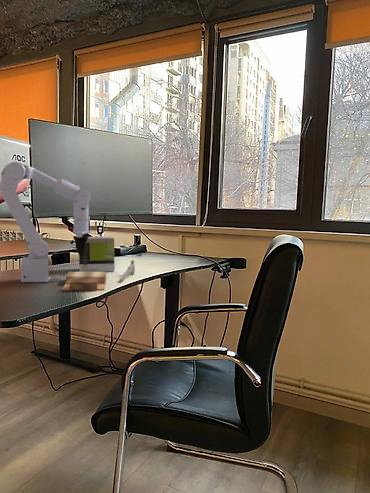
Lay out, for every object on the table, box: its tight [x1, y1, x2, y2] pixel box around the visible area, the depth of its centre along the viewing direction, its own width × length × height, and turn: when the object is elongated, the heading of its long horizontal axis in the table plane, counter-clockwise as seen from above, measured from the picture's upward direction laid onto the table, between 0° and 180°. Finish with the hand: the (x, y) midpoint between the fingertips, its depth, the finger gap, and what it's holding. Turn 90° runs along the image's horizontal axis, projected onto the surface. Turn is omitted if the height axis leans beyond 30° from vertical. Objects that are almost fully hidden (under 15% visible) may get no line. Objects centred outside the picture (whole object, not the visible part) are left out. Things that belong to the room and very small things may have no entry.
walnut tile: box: [69, 279, 98, 291], centre depth 137 cm, size 9×6×2 cm, turn 99°
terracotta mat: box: [61, 283, 106, 291], centre depth 139 cm, size 14×9×1 cm, turn 99°
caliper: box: [118, 259, 136, 284], centre depth 158 cm, size 20×1×6 cm, turn 173°
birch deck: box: [65, 271, 107, 285], centre depth 148 cm, size 14×10×3 cm
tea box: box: [78, 236, 115, 272], centre depth 174 cm, size 15×10×15 cm
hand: (81, 254), depth 156 cm, fingers closed
